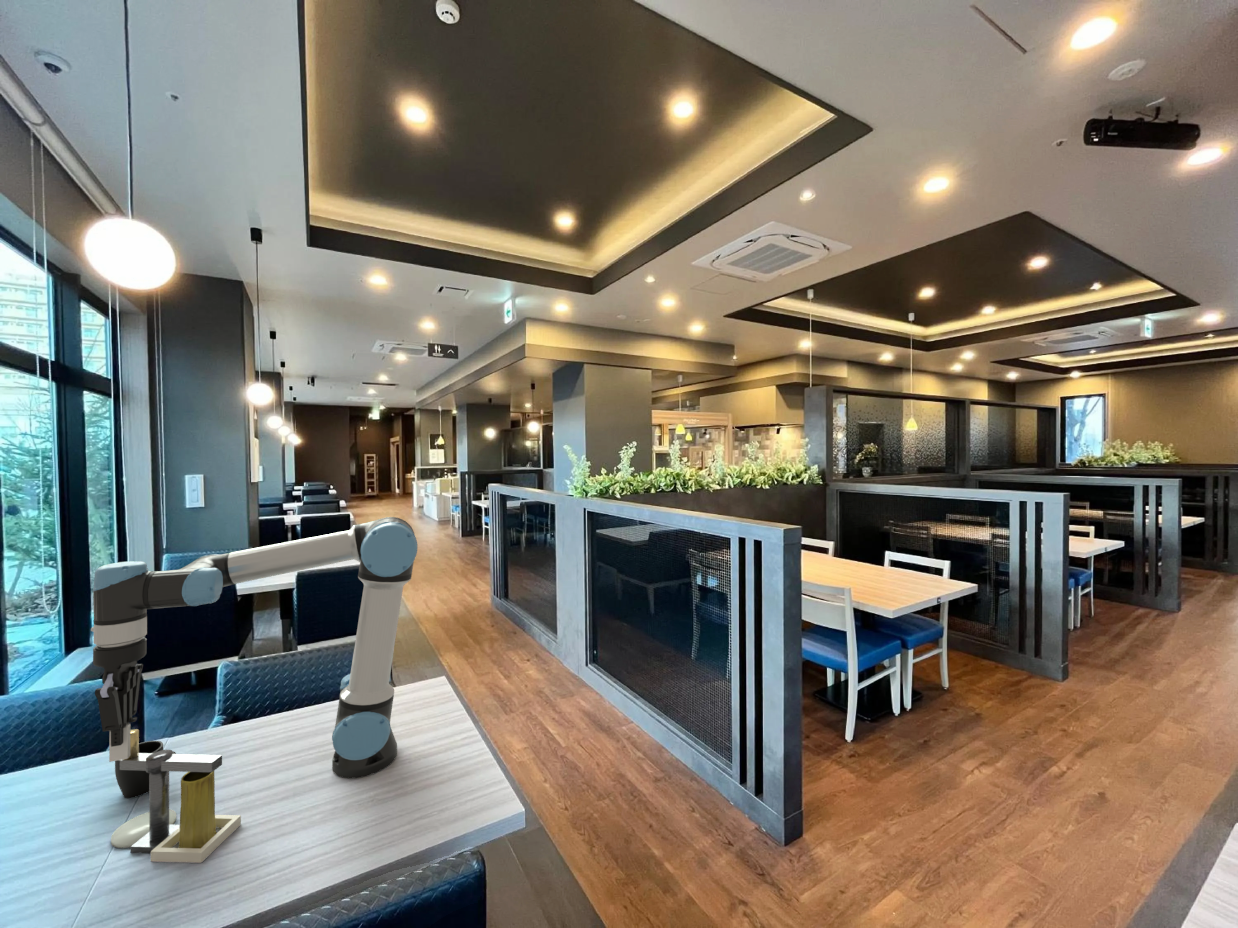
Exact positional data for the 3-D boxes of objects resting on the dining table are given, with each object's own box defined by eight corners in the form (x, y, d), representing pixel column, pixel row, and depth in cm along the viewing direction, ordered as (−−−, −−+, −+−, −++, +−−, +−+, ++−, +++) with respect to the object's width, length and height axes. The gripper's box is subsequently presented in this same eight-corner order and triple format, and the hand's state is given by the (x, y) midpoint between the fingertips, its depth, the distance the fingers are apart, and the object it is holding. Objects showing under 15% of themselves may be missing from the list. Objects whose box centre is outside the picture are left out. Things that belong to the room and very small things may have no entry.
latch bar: (224, 762, 103) (225, 729, 103) (208, 774, 99) (208, 740, 99) (134, 759, 103) (134, 726, 103) (114, 772, 99) (114, 737, 99)
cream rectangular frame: (240, 824, 107) (240, 815, 107) (201, 862, 97) (201, 852, 97) (194, 823, 107) (194, 814, 107) (150, 861, 97) (150, 851, 97)
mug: (157, 802, 113) (157, 761, 113) (104, 801, 113) (104, 760, 112) (188, 778, 121) (188, 740, 121) (138, 778, 121) (138, 739, 121)
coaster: (188, 812, 110) (188, 809, 110) (145, 848, 100) (145, 844, 100) (144, 811, 110) (144, 808, 110) (96, 847, 100) (96, 843, 100)
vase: (193, 831, 104) (193, 764, 104) (224, 830, 105) (224, 763, 105) (169, 854, 98) (169, 784, 98) (202, 853, 99) (202, 782, 99)
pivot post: (186, 830, 105) (186, 759, 104) (160, 853, 99) (160, 778, 98) (158, 829, 105) (158, 758, 104) (130, 852, 99) (130, 777, 98)
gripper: (112, 633, 103) (111, 745, 103) (75, 655, 91) (75, 782, 91) (159, 628, 106) (158, 737, 106) (129, 649, 94) (128, 772, 94)
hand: (119, 758), depth 99 cm, fingers closed
